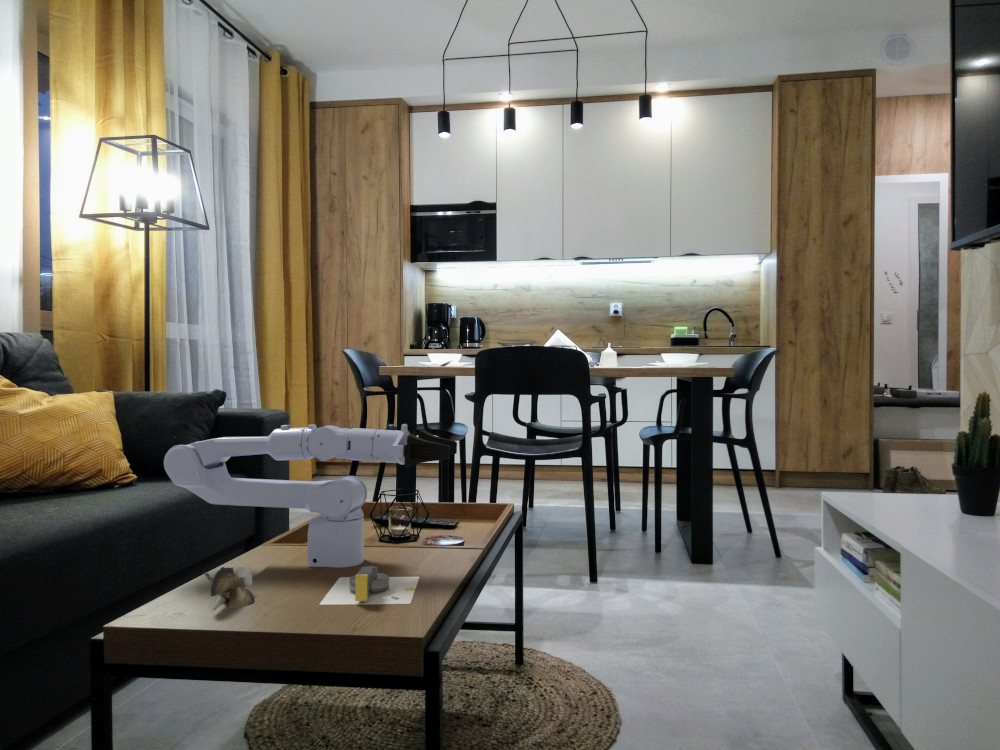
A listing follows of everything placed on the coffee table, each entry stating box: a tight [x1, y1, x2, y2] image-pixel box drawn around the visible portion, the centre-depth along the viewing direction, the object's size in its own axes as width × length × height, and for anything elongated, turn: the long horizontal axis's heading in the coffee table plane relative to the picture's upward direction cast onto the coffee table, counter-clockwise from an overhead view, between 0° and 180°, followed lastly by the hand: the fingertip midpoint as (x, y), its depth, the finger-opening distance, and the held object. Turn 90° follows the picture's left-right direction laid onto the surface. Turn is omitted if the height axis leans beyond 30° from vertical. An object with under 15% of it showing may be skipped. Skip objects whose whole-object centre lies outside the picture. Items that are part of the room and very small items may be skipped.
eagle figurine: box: [204, 566, 255, 611], centre depth 100 cm, size 8×7×9 cm
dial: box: [349, 565, 390, 601], centre depth 104 cm, size 10×6×4 cm, turn 1°
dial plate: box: [318, 576, 420, 606], centre depth 106 cm, size 13×14×1 cm
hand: (453, 450), depth 121 cm, fingers open, 7 cm apart
